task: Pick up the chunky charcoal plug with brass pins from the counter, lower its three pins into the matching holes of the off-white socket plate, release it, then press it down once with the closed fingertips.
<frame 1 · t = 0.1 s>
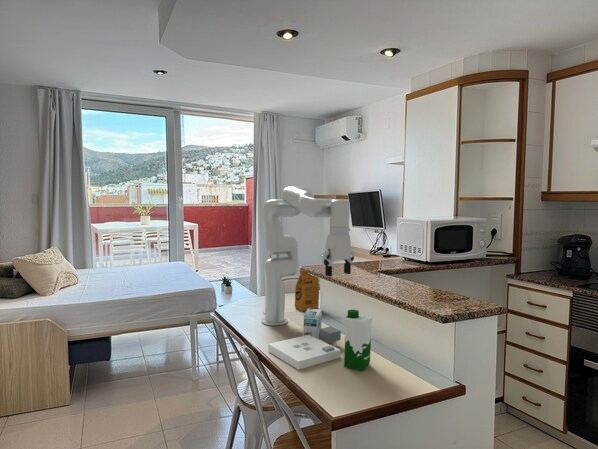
hand: (338, 274, 154), 31 cm above the table, fingers open, 9 cm apart
plug: (329, 345, 163), on the table
milk carton: (356, 366, 143), on the table
socket: (303, 354, 153), on the table
coffee package: (306, 308, 217), on the table
light bulb box: (312, 336, 174), on the table
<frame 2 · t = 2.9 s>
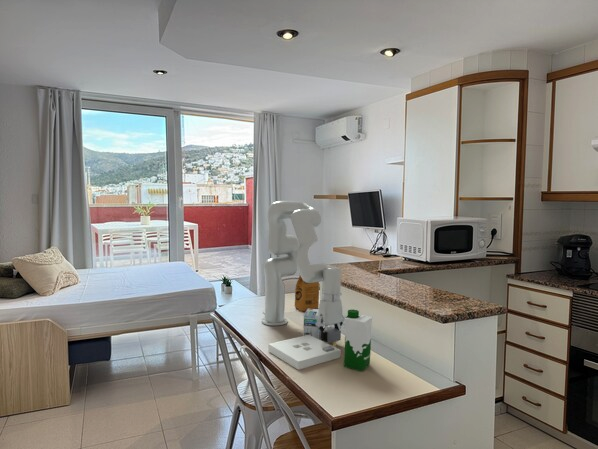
hand: (330, 339, 163), 3 cm above the table, fingers closed on plug, 6 cm apart
plug: (329, 345, 163), on the table, touching gripper
everything else where it was.
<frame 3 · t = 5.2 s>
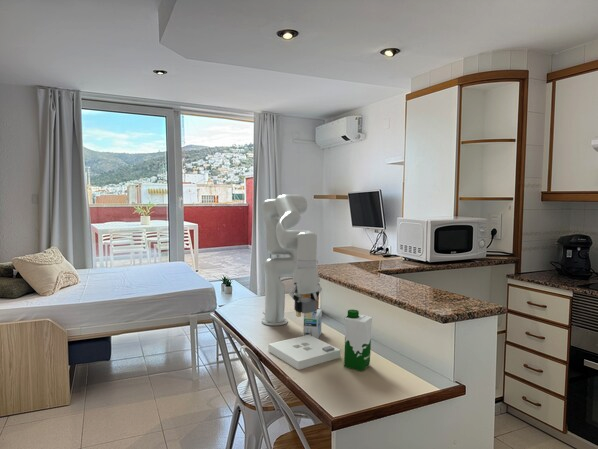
hand: (305, 310, 152), 18 cm above the table, fingers closed on plug, 6 cm apart
plug: (305, 316, 152), point 15 cm above the table, touching gripper
everything else where it was.
when the fingers open (3 cm above the table, at t = 7.6 s): plug stays where it is, resting on socket.
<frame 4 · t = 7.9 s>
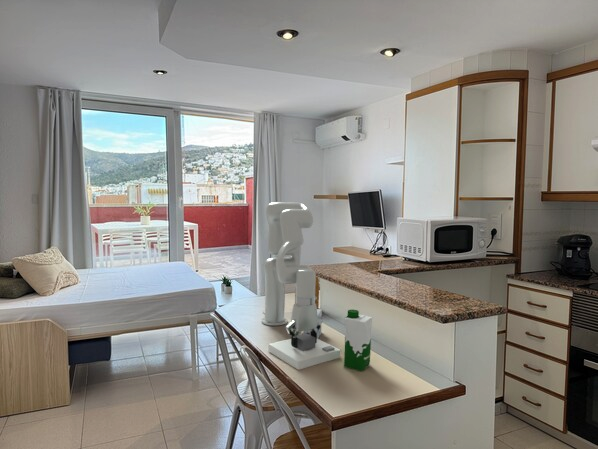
hand: (304, 344, 152), 4 cm above the table, fingers open, 8 cm apart
plug: (303, 353, 153), resting on socket
everything else where it was.
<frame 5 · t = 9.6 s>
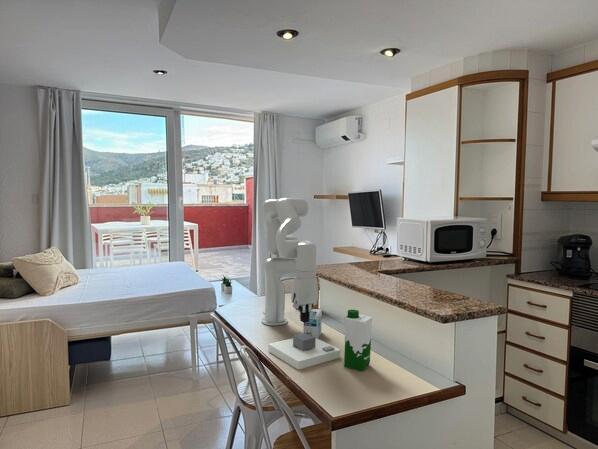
hand: (304, 321, 152), 13 cm above the table, fingers closed
nothing on the table moved.
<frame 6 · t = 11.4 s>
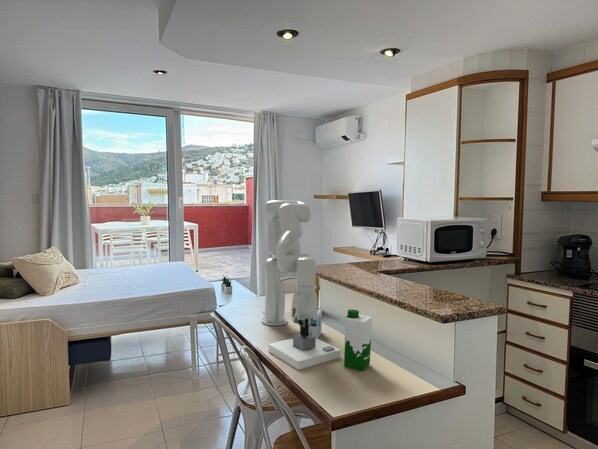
hand: (304, 335, 152), 7 cm above the table, fingers closed
nothing on the table moved.
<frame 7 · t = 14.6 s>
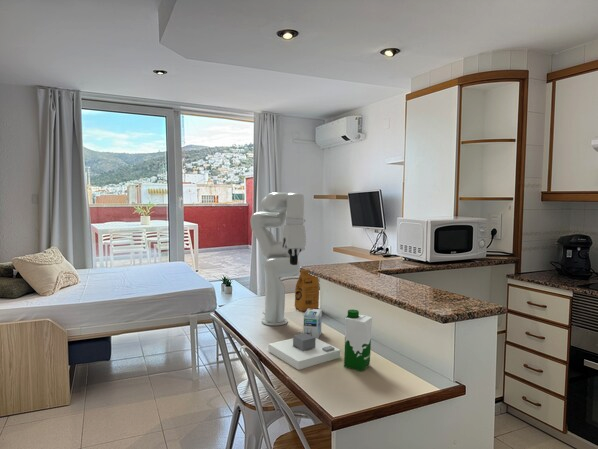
hand: (293, 264, 169), 32 cm above the table, fingers closed
nothing on the table moved.
at the end: plug 0.0 cm off-centre on the socket, point 0.5 cm above the socket's base; plug tilted 0°; the gripper is holding nothing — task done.
